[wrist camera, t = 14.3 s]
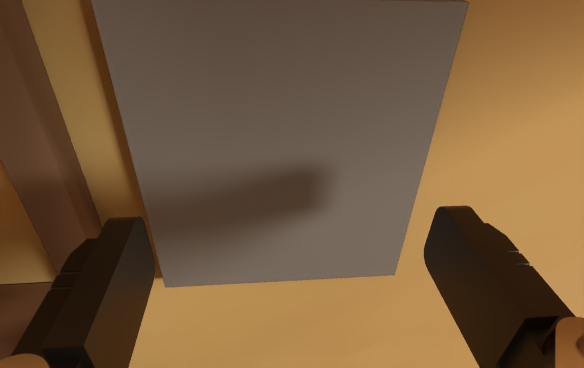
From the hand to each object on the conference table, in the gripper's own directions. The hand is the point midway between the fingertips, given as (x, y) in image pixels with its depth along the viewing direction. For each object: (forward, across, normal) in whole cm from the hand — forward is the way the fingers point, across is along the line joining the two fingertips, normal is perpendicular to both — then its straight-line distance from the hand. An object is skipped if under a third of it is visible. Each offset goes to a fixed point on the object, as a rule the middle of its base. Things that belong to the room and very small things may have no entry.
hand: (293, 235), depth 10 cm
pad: (+4, 0, 0) cm, 4 cm away
